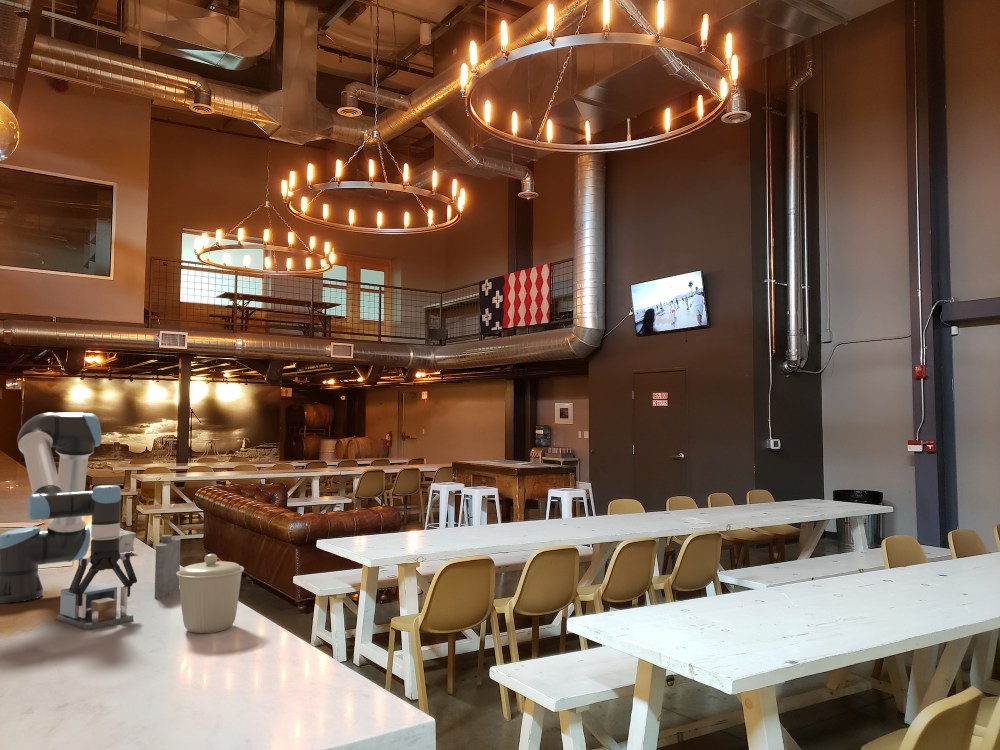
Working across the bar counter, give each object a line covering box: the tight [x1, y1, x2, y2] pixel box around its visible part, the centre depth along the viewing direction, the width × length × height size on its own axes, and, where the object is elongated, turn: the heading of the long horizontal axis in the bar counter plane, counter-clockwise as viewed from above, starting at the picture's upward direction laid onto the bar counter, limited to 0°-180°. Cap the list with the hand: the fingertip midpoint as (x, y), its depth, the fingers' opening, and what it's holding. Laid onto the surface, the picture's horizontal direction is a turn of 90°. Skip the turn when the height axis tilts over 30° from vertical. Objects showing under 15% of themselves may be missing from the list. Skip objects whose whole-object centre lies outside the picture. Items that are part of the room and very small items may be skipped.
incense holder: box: [117, 529, 137, 553], centre depth 331 cm, size 10×8×10 cm
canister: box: [176, 553, 245, 634], centre depth 208 cm, size 18×18×21 cm
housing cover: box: [59, 582, 118, 618], centre depth 221 cm, size 10×12×7 cm
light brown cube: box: [91, 598, 116, 621], centre depth 215 cm, size 5×5×5 cm
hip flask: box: [154, 534, 181, 599], centre depth 254 cm, size 16×4×20 cm, turn 3°
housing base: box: [56, 605, 134, 631], centre depth 218 cm, size 20×13×4 cm, turn 53°
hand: (103, 612), depth 215 cm, fingers open, 11 cm apart
